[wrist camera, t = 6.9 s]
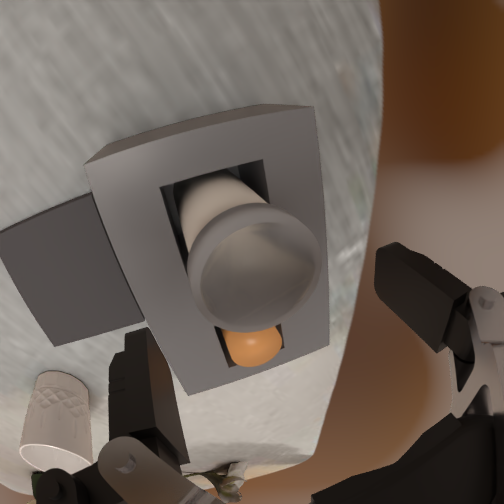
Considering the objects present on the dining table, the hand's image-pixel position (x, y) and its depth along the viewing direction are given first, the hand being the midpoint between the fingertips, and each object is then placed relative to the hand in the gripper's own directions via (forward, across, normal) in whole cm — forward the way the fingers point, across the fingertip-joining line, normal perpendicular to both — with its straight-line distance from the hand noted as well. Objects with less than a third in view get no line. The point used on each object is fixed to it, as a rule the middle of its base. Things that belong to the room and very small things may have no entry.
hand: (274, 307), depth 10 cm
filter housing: (+16, 0, +4) cm, 16 cm away
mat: (+16, +13, +4) cm, 21 cm away
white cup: (+16, +22, +17) cm, 32 cm away
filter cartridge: (+14, 0, 0) cm, 14 cm away
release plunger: (+12, 0, +9) cm, 15 cm away
